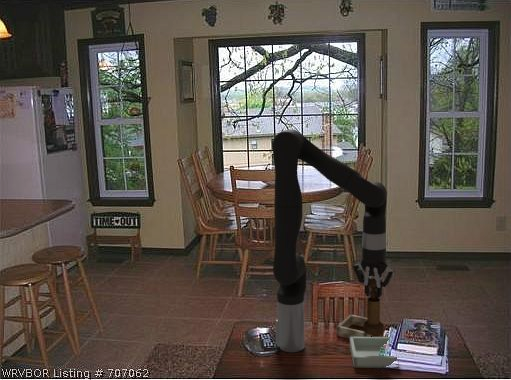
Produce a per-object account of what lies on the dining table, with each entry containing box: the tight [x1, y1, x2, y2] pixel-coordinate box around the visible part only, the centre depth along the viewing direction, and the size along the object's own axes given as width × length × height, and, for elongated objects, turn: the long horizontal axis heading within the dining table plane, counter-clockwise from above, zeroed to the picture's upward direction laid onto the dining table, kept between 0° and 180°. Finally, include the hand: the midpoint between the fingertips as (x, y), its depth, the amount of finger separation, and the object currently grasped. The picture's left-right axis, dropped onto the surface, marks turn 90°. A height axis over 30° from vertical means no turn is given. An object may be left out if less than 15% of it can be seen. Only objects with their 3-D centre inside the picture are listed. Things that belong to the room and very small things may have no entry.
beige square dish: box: [336, 314, 373, 340], centre depth 191 cm, size 11×12×4 cm
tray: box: [349, 336, 397, 369], centre depth 174 cm, size 14×14×4 cm
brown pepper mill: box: [362, 277, 385, 336], centre depth 171 cm, size 7×6×18 cm
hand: (373, 296), depth 170 cm, fingers closed on brown pepper mill, 2 cm apart
